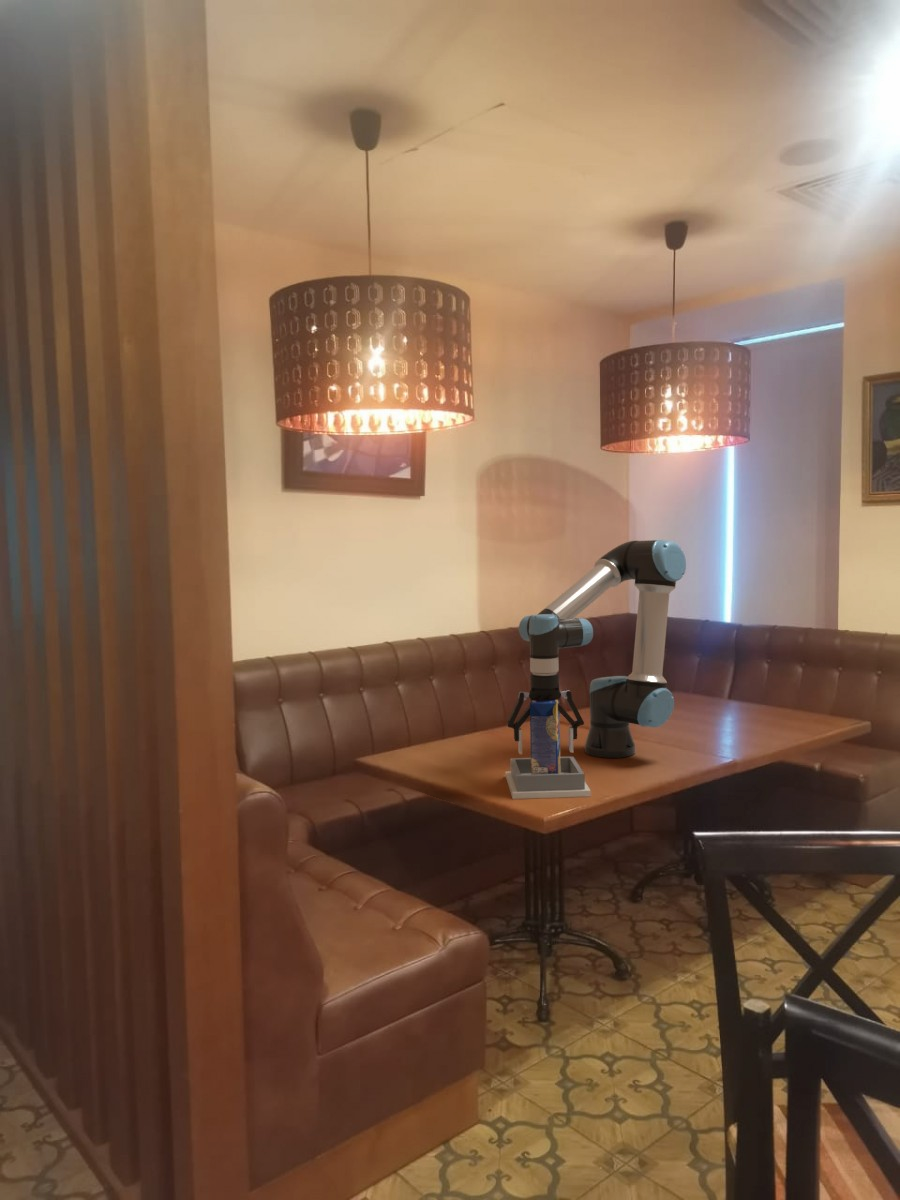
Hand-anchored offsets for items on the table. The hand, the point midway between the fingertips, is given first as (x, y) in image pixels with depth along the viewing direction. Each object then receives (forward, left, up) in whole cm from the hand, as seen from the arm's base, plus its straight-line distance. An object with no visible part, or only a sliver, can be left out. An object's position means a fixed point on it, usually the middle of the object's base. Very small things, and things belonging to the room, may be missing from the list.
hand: (545, 752), depth 226 cm
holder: (0, 0, -9) cm, 9 cm away
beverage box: (0, 0, -8) cm, 8 cm away
